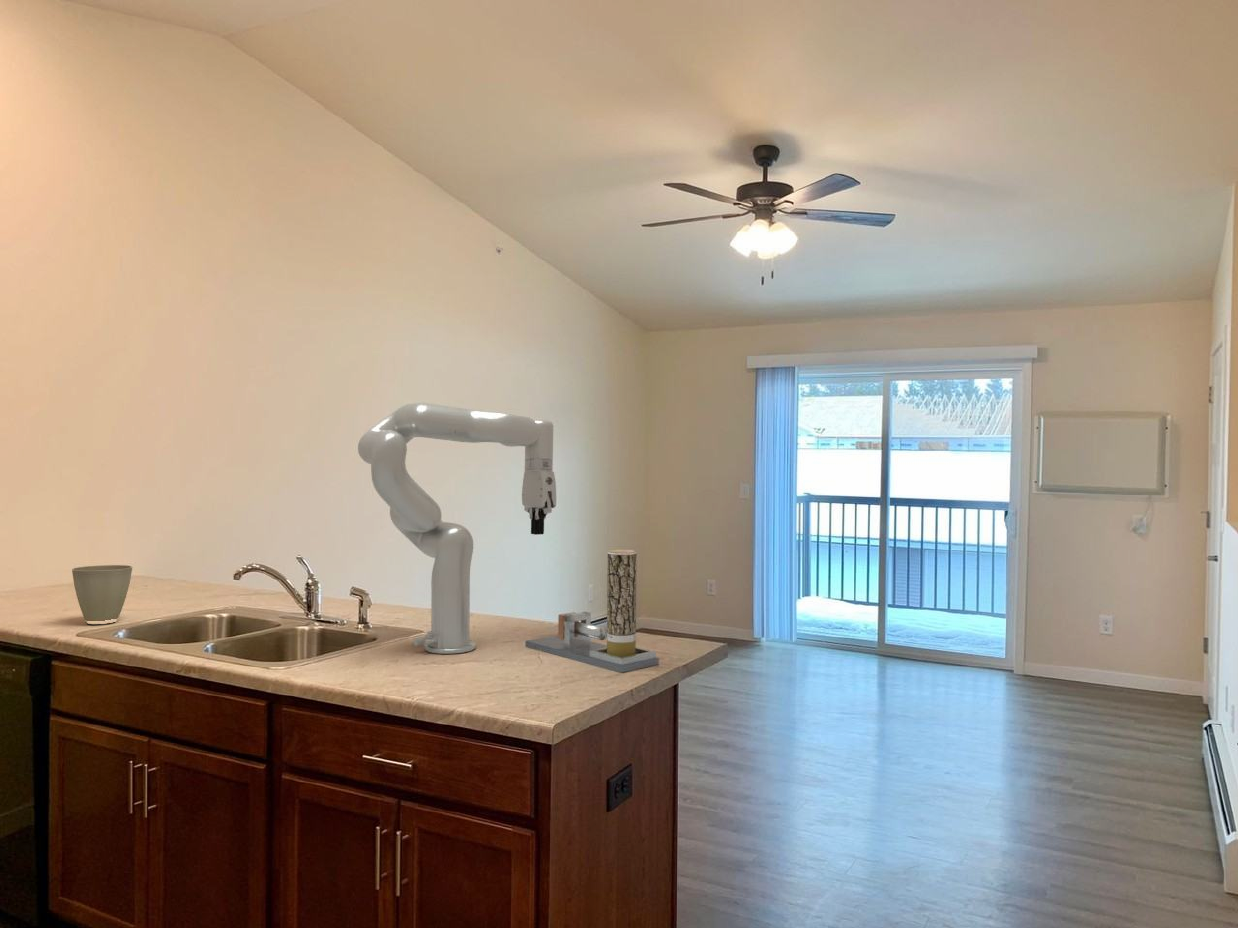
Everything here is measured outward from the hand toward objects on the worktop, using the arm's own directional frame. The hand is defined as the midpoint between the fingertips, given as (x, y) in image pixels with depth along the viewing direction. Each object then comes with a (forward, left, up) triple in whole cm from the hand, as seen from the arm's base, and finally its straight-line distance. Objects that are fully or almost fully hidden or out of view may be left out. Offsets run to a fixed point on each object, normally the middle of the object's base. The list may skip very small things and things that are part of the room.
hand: (537, 534), depth 230 cm
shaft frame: (-3, -25, -28) cm, 38 cm away
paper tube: (-3, -37, -27) cm, 45 cm away
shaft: (-3, -23, -25) cm, 34 cm away
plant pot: (-82, +97, -28) cm, 130 cm away
